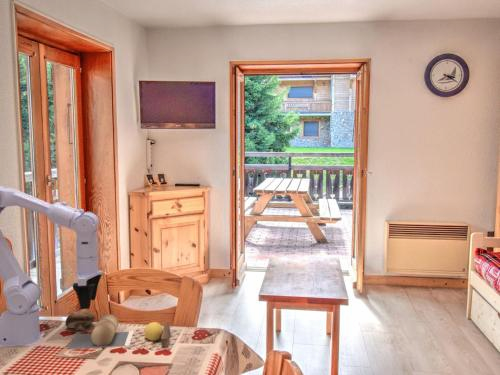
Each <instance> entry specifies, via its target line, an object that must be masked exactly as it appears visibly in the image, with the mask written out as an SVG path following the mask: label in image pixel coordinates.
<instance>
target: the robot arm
mask: <svg viewBox="0 0 500 375" xmlns="http://www.w3.org/2000/svg"><path fill="white" fill-rule="evenodd" d="M15 206H17V207H20V208H24V209H26V210H30V211H32V212H36V213H39V214H42V215H44V216H46V218H47V220H48V222H51V223H52V224H55V225H58V226H61V227H64V228H66V229H69V230H73V231H74V233H75V235H76V237H75V238H76V241H75V247H76V248H75V252H76V253H75V255H76V256H75V257H76V272H75V276H76V278H77V282H74V283H73V284H72V288H73V291H74V292H75V294H76V296H77V299H78V303H79V305H80V309H81V310H89V309H90V307H91V303H92V302H91V301H95V300H96V297H97V292H98V287H99V284H100V280H101V278H102V276H103V274H104V270H100V269H99V240H98V230H97V229H98V227H99V226H100V219H99V217H98V215H97V214H95V213H93V212H92V211H86V212H85V210H84V209H83V208H80V209H78V208H75V207H73V206H70V205H68V202H66V201H61V202H59V201H56V202H54V203H50V202H46V201H45V200H42V199H40V198H37V197H35V196H33V195H30V194H28V193H25V192H23V191H21V190H18V189H17V188H14V187H9V186H8V187H7V186H6V185H3V184H0V215H1V213H2V212H3V211H4V210H5V209H6V208H7V207H8V208H9V207H15ZM0 278H1V280H2V282H3V289H2V290H3V291H2V293H3V295H4V298H5V306H6V308H7V309H8V310H4V311H2V313H1V314H0V347H15V346H16V347H17V346H35V345H37V344H38V343H39V341H40V340H41V339H42V338H43V336H44V335H45V332H40V306H39V303H38V301H39V299H40V298H41V296H42V289H41V287H40V286H39V285H38V284H37V282H35V281H33V279H32V278H31V276H30V275H29V274H27V273H26V272H24V270H23V269H22V266H21V265H20V263H19V262H18V260H17V257H16V256H15V254H14V252H13V251H12V248H11V246H10V245H9V242H7V240H6V238H5V236H4V234H3V231H2V230H1V229H0Z"/></svg>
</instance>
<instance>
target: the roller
mask: <svg viewBox="0 0 500 375" xmlns="http://www.w3.org/2000/svg"><path fill="white" fill-rule="evenodd" d="M118 327H119V320H118V318H117V317H116V315H114V314H111V313H109V314H104V315H102V316H101V317H99V319H98V320H97V323H96V324H95V327H94V329H93V330H92V332H91V333H92V335H91V338H92V341H93V343H94V344H96V345H97V346H106V345H108V344H110V342H111V341H112V339H113V337H114V334H115V332H117V329H118Z"/></svg>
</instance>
